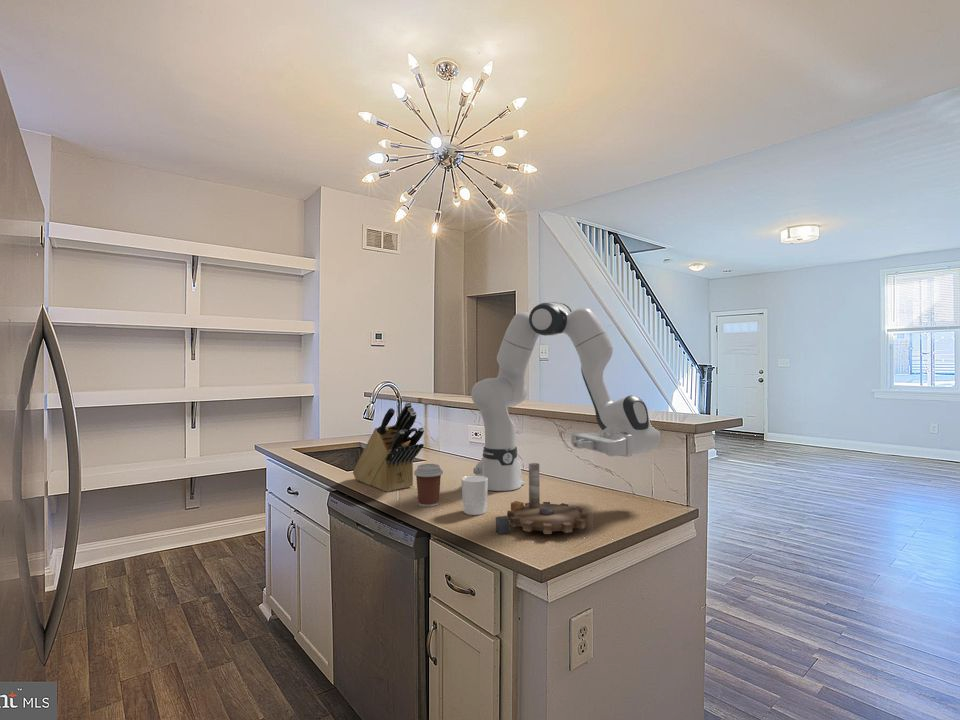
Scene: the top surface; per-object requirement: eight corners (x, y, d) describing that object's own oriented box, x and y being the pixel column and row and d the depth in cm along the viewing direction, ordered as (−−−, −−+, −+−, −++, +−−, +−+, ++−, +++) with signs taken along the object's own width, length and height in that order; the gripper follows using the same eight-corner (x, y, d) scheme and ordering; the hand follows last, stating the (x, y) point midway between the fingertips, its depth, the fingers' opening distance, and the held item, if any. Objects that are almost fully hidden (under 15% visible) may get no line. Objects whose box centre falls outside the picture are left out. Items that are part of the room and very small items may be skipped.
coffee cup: (409, 502, 162) (408, 465, 162) (434, 498, 167) (433, 461, 167) (422, 509, 154) (422, 470, 154) (448, 504, 160) (448, 466, 160)
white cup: (458, 509, 154) (458, 476, 154) (482, 506, 157) (482, 474, 157) (466, 517, 147) (466, 482, 147) (492, 514, 149) (491, 480, 149)
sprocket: (494, 514, 144) (494, 465, 144) (559, 505, 153) (559, 458, 153) (531, 538, 124) (531, 481, 124) (604, 526, 133) (603, 473, 133)
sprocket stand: (490, 528, 136) (490, 514, 136) (552, 519, 144) (551, 505, 144) (504, 538, 129) (503, 522, 129) (567, 528, 136) (567, 513, 136)
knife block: (399, 498, 167) (398, 404, 167) (352, 479, 194) (351, 398, 194) (427, 492, 174) (427, 402, 174) (378, 475, 201) (378, 397, 201)
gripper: (593, 427, 165) (556, 429, 160) (635, 435, 147) (595, 439, 141) (593, 446, 165) (557, 449, 160) (635, 457, 147) (596, 461, 141)
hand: (575, 444), depth 150 cm, fingers closed
